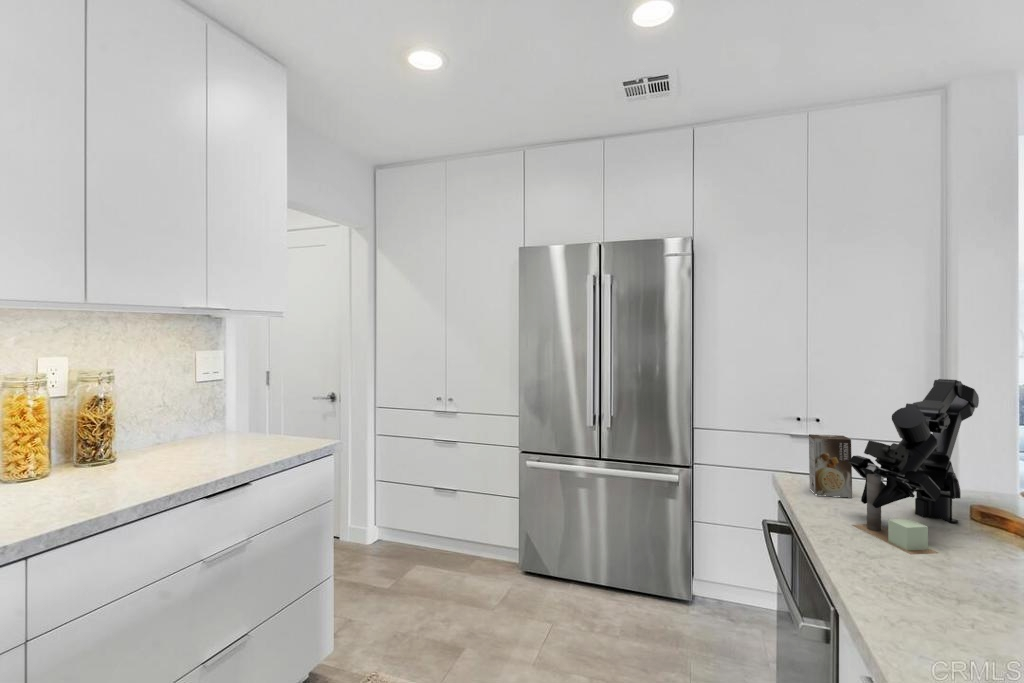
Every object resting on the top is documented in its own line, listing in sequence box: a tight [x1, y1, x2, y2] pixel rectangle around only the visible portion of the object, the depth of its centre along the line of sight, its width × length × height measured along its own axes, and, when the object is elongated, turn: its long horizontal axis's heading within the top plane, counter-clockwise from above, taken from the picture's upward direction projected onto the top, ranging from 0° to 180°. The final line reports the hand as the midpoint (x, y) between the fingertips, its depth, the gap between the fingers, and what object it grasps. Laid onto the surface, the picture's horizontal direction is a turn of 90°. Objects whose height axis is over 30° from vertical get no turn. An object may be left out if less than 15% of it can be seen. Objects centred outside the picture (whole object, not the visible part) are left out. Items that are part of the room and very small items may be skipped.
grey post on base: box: [851, 474, 939, 555], centre depth 110 cm, size 6×16×13 cm, turn 4°
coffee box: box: [808, 433, 853, 499], centre depth 144 cm, size 9×6×16 cm
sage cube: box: [887, 518, 929, 550], centre depth 107 cm, size 5×5×5 cm
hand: (868, 504), depth 115 cm, fingers closed on grey post on base, 3 cm apart
